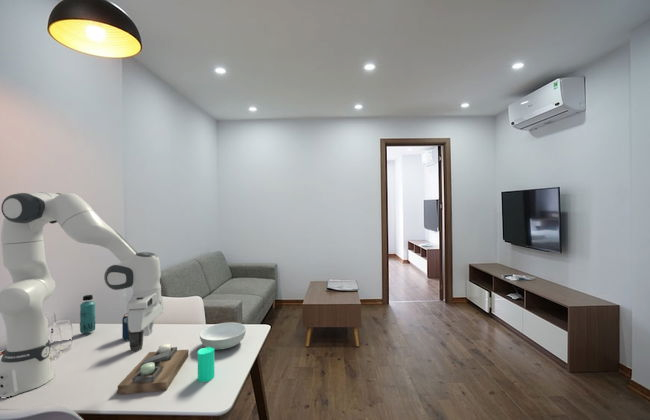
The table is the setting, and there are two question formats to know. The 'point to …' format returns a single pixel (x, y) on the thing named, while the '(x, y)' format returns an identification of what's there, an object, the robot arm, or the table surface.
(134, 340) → the beverage cup
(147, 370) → the button sage
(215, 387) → the table surface
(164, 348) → the button offwhite
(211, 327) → the serving bowl
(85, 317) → the beverage bottle
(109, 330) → the table surface
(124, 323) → the soda can
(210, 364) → the candle
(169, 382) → the switch panel
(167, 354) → the flat grey strip
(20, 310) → the robot arm
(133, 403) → the table surface
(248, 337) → the table surface
